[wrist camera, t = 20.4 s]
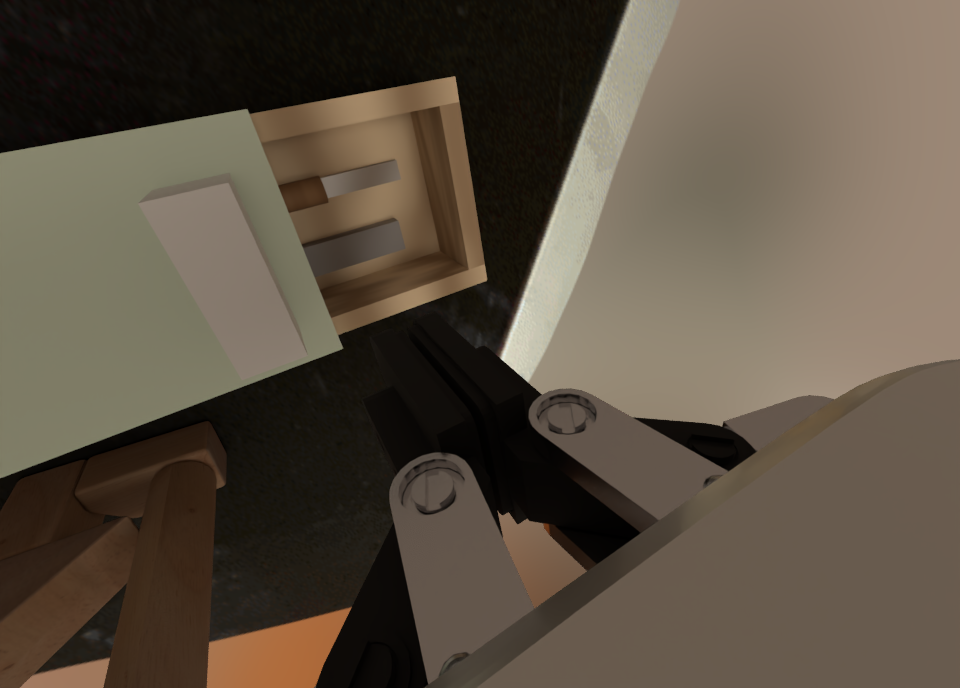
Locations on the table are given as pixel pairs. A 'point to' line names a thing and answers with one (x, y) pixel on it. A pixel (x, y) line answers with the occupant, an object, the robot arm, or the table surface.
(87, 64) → the table surface
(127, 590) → the wooden pieces
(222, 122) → the lid
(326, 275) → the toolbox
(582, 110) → the table surface
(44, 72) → the table surface
